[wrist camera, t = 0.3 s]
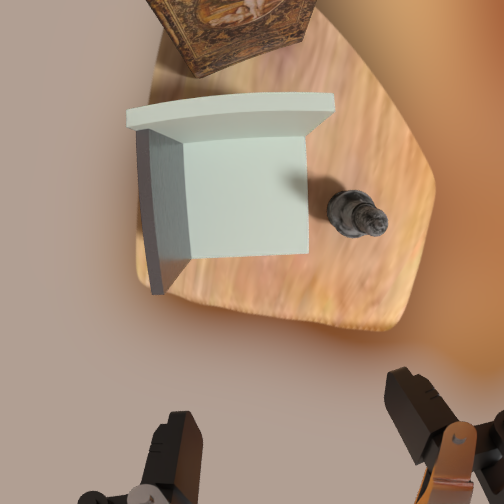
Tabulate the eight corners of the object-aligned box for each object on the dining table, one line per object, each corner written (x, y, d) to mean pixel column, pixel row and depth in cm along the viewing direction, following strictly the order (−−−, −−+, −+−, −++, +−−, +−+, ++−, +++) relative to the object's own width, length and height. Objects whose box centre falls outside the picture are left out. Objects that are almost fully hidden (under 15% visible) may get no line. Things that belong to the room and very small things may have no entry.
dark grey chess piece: (344, 241, 38) (378, 268, 26) (315, 209, 37) (341, 224, 25) (374, 212, 37) (418, 227, 25) (347, 179, 36) (384, 181, 24)
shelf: (177, 135, 35) (126, 109, 19) (301, 127, 34) (333, 93, 19) (186, 255, 39) (144, 303, 23) (306, 249, 38) (337, 296, 23)
